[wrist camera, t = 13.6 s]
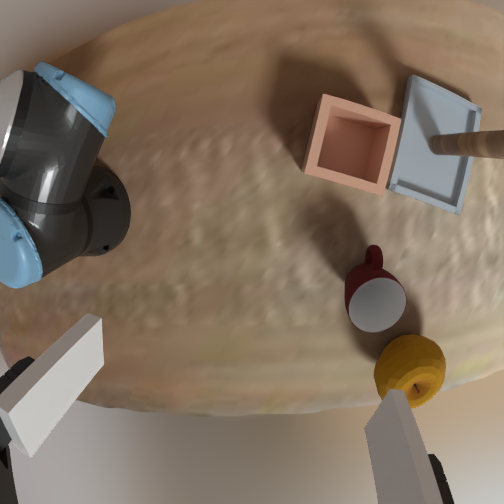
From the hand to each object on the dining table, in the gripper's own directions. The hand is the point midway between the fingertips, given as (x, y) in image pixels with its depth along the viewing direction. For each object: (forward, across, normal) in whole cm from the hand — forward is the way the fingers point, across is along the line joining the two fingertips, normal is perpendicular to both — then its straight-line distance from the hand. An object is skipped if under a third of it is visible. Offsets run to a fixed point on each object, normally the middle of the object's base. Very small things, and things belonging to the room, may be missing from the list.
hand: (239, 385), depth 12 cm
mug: (+35, +15, -4) cm, 38 cm away
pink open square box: (+35, +7, +13) cm, 38 cm away
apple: (+35, +28, -17) cm, 48 cm away
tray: (+35, +21, +18) cm, 44 cm away
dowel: (+34, +21, +18) cm, 44 cm away
